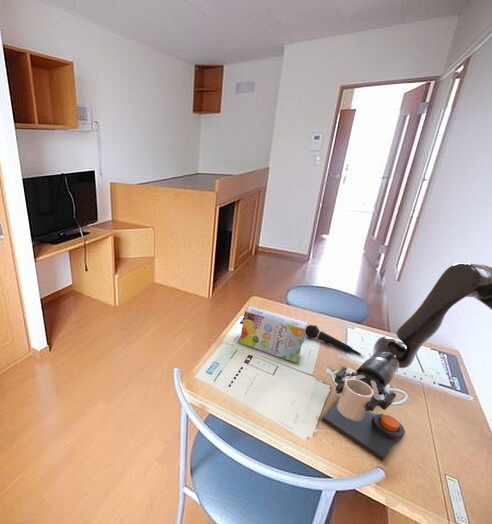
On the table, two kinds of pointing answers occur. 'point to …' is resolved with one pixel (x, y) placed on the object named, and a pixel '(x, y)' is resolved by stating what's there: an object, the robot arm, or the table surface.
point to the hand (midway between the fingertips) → (352, 399)
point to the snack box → (273, 333)
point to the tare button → (389, 423)
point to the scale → (365, 431)
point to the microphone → (327, 338)
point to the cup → (354, 399)
